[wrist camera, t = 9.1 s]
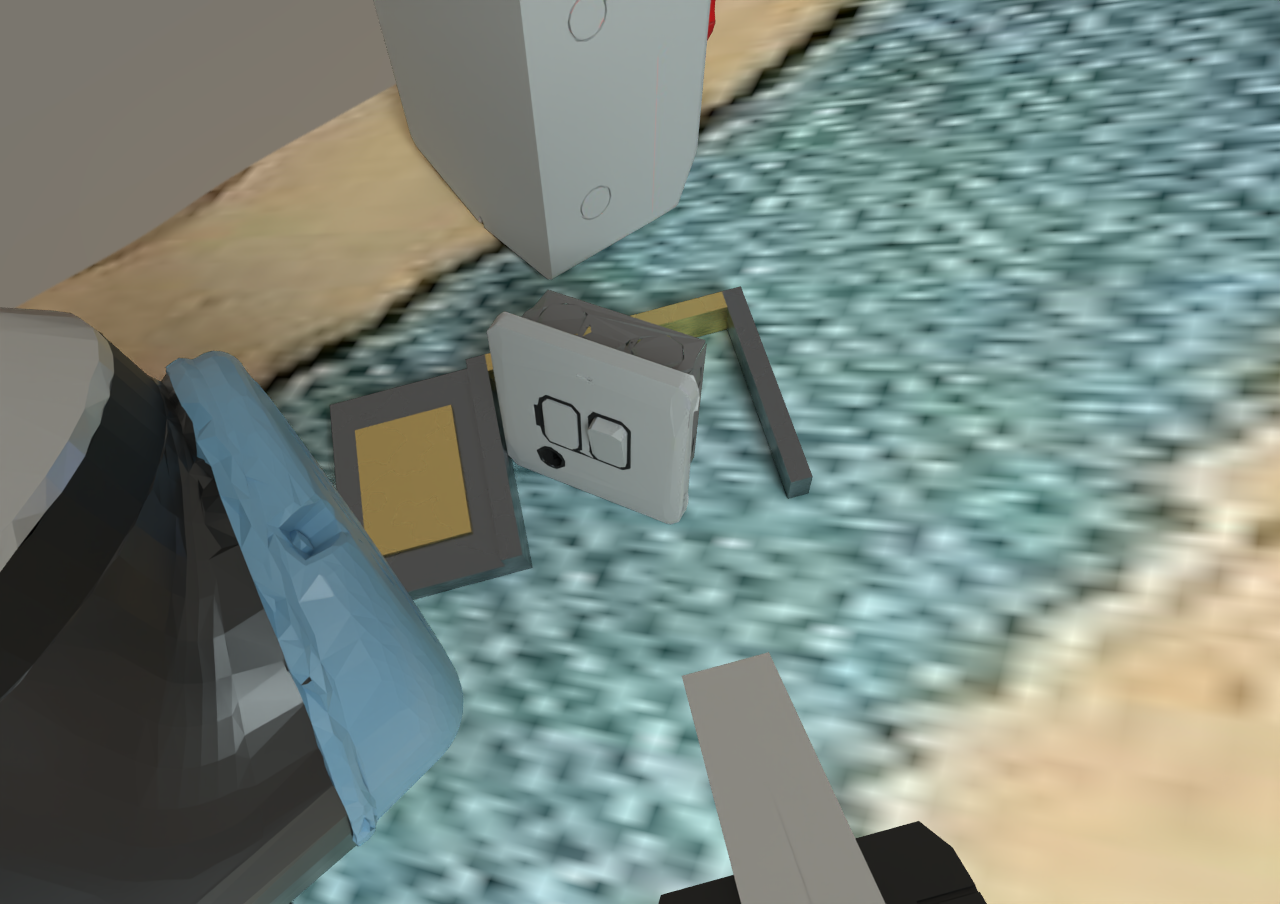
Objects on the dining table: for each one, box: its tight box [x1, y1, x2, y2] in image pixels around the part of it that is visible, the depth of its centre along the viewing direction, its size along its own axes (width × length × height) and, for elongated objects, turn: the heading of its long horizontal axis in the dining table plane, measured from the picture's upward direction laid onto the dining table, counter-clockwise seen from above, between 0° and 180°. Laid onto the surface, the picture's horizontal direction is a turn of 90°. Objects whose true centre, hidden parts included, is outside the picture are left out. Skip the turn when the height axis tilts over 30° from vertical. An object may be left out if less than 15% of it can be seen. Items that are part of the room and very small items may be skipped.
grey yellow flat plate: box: [330, 286, 812, 600], centre depth 38 cm, size 22×11×2 cm, turn 104°
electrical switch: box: [487, 290, 707, 524], centre depth 35 cm, size 9×5×9 cm, turn 65°
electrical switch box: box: [373, 0, 715, 280], centre depth 40 cm, size 15×15×20 cm
